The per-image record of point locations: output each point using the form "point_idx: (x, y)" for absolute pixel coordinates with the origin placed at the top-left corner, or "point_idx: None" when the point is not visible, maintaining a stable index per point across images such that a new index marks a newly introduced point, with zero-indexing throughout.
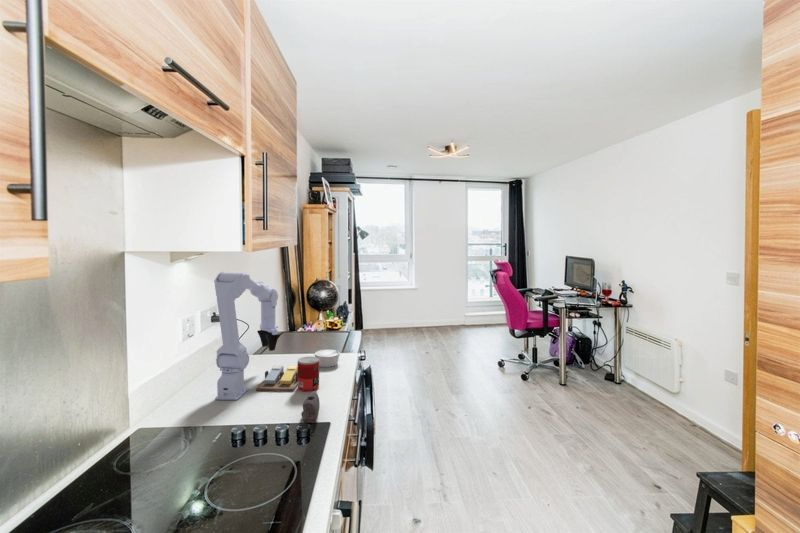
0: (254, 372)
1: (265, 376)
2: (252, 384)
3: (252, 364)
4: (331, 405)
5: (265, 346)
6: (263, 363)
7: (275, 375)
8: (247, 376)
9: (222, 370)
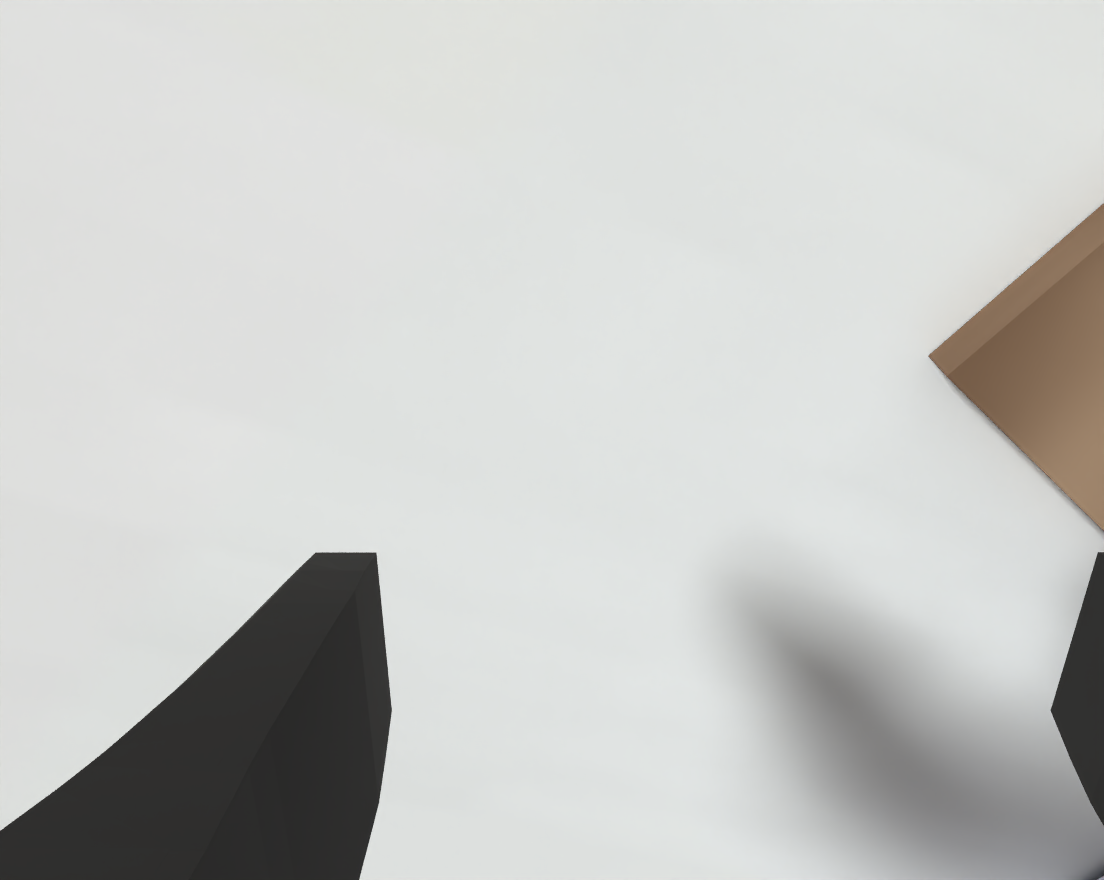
0: (537, 538)
1: None
2: None
3: (3, 418)
4: None
5: (383, 632)
6: (38, 205)
7: None
8: (660, 676)
9: None
